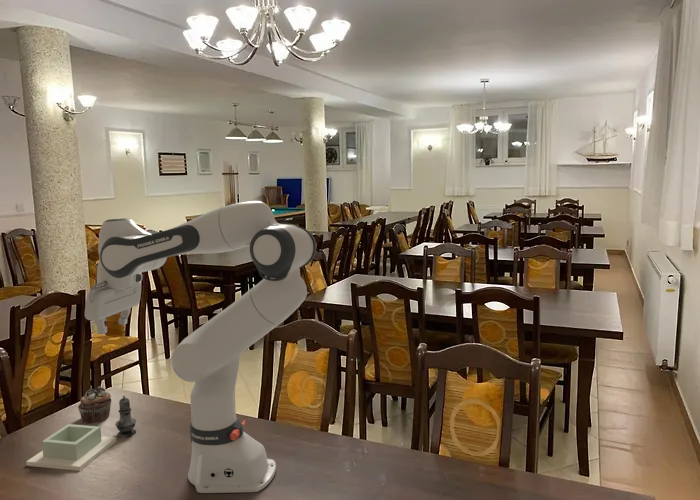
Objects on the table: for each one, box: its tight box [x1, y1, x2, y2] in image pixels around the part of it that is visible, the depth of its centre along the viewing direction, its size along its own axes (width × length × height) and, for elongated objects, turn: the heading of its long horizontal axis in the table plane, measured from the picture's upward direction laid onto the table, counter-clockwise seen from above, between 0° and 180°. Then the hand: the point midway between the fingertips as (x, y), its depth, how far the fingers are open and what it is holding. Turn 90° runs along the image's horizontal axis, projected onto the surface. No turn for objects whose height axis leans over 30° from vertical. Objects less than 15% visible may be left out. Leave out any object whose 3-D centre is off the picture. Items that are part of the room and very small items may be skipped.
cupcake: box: [77, 385, 113, 425], centre depth 171 cm, size 10×10×10 cm
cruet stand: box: [25, 423, 117, 472], centre depth 149 cm, size 16×16×6 cm
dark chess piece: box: [115, 395, 137, 439], centre depth 160 cm, size 6×6×12 cm
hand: (112, 328), depth 144 cm, fingers open, 8 cm apart
